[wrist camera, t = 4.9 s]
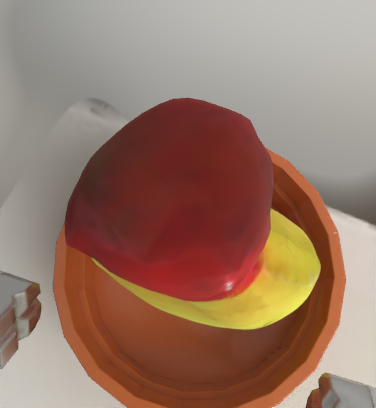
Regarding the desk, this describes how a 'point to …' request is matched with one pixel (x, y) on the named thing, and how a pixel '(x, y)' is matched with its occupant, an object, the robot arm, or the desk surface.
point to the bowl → (202, 326)
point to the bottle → (192, 218)
